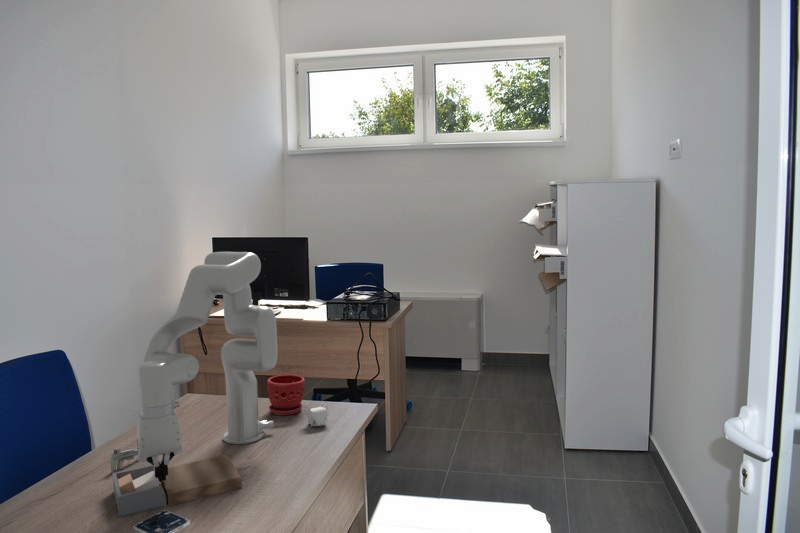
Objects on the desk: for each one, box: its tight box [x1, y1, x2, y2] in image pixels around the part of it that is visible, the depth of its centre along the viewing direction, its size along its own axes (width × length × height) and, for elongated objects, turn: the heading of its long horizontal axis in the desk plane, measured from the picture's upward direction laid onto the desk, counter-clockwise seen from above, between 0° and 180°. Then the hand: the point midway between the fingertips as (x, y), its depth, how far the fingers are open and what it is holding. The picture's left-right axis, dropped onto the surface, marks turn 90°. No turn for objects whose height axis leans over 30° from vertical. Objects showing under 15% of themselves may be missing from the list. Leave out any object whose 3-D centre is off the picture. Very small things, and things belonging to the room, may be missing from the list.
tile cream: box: [133, 470, 159, 491], centre depth 150 cm, size 5×5×3 cm
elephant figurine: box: [303, 402, 329, 427], centre depth 198 cm, size 8×10×7 cm
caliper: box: [110, 448, 139, 473], centre depth 174 cm, size 21×1×6 cm, turn 157°
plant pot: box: [266, 374, 306, 416], centre depth 212 cm, size 13×13×12 cm
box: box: [112, 464, 168, 518], centre depth 149 cm, size 11×15×5 cm
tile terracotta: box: [118, 474, 136, 495], centre depth 148 cm, size 5×5×3 cm
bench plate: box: [161, 454, 243, 506], centre depth 157 cm, size 18×16×3 cm
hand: (161, 479), depth 152 cm, fingers closed
